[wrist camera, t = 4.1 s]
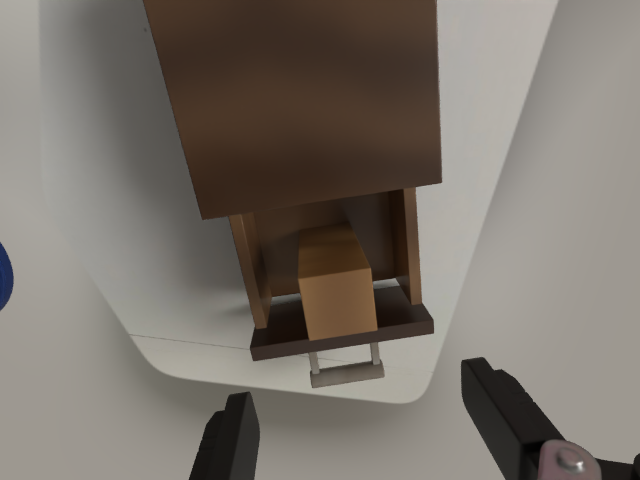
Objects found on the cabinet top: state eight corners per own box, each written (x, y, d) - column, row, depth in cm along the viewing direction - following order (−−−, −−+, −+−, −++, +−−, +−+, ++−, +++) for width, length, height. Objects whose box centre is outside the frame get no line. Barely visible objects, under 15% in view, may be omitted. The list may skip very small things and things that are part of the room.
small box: (307, 275, 28) (309, 341, 20) (299, 229, 27) (297, 279, 19) (355, 267, 28) (377, 330, 20) (349, 221, 27) (371, 267, 19)
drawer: (414, 341, 32) (436, 386, 27) (272, 363, 32) (266, 413, 27) (399, 125, 26) (425, 127, 21) (222, 153, 26) (201, 162, 21)
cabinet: (406, 167, 28) (442, 183, 21) (227, 194, 28) (202, 220, 21) (391, -71, 23) (432, -159, 16) (172, -37, 23) (113, -108, 16)
